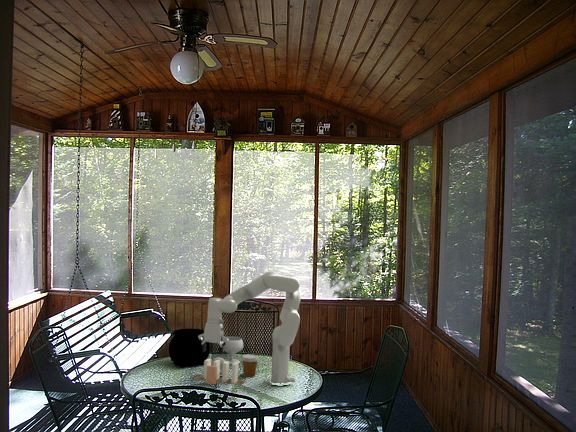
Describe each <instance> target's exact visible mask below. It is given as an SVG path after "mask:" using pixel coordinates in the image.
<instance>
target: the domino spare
mask: <svg viewBox="0 0 576 432" xmlns="http://www.w3.org/2000/svg"><path fill="white" fill-rule="evenodd" d="M216 377H217V367H216V366H207V378H206V380H205V383H206V384H210V385H216V384H217V382H216Z"/></svg>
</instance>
